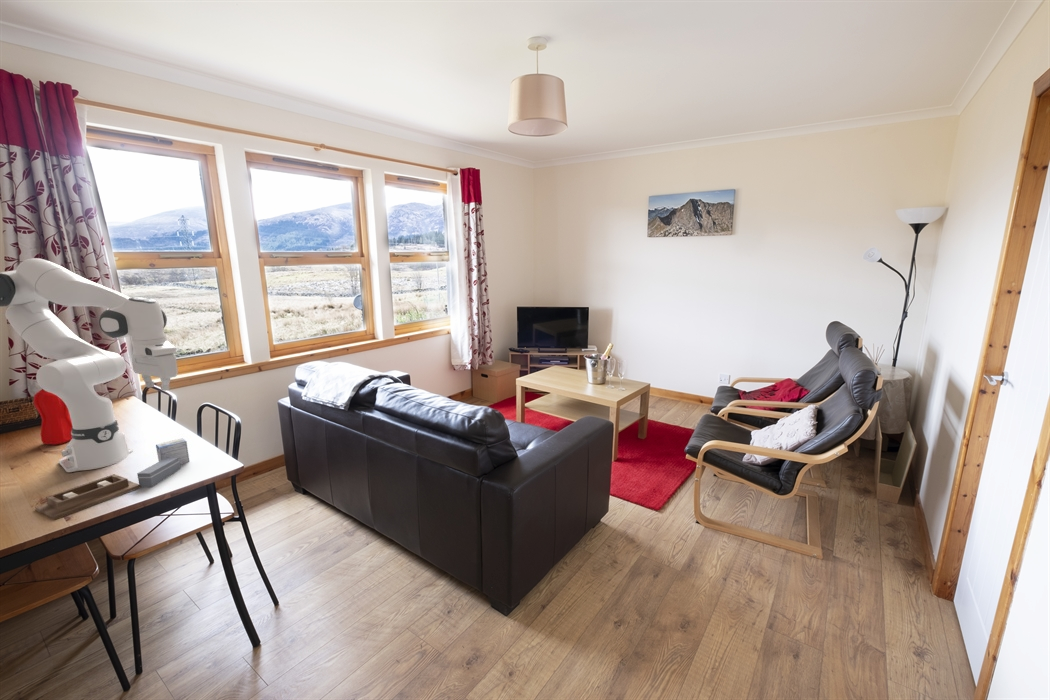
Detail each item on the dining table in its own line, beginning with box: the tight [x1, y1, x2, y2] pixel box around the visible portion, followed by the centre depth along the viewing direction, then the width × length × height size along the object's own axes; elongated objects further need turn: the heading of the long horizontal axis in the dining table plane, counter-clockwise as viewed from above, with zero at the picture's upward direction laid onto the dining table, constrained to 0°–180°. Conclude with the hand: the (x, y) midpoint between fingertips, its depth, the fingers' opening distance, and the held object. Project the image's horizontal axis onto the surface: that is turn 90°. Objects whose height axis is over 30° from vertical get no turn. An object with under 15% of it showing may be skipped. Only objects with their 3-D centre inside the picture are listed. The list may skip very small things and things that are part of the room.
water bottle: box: [33, 388, 73, 446], centre depth 180 cm, size 9×11×25 cm
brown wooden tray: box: [34, 473, 141, 520], centre depth 136 cm, size 12×20×4 cm, turn 155°
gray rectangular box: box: [137, 457, 181, 488], centre depth 148 cm, size 4×12×5 cm, turn 0°
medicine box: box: [155, 438, 190, 465], centre depth 158 cm, size 8×4×9 cm, turn 141°
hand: (157, 388), depth 149 cm, fingers open, 8 cm apart
